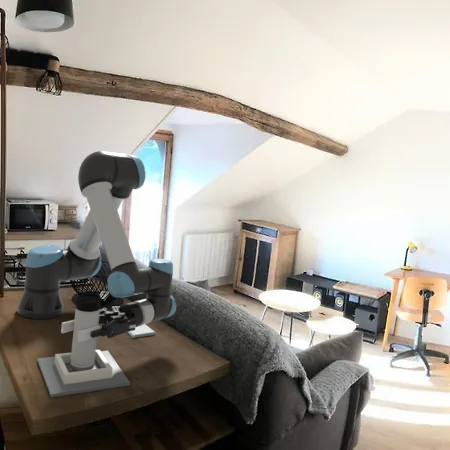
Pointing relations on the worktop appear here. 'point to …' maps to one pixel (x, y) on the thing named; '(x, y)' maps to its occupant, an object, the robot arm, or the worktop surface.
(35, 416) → the worktop surface
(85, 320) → the travel mug
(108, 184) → the robot arm
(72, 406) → the worktop surface
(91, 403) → the worktop surface
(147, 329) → the external hard drive
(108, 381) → the dock
